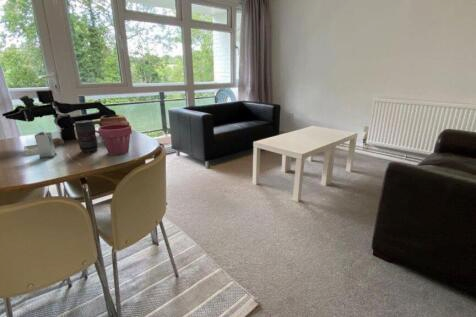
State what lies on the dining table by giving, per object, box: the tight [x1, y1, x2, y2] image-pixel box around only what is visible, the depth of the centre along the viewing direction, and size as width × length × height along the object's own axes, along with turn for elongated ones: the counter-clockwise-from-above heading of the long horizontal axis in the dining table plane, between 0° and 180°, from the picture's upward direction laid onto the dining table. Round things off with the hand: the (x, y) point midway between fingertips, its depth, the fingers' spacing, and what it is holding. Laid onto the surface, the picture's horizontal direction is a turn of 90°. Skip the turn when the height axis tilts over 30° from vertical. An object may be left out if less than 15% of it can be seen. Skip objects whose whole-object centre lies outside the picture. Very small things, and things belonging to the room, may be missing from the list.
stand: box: [23, 144, 39, 156], centre depth 128 cm, size 9×9×3 cm
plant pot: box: [97, 124, 133, 156], centre depth 126 cm, size 14×14×13 cm
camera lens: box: [74, 120, 99, 154], centre depth 127 cm, size 8×8×15 cm
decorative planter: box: [92, 114, 130, 134], centre depth 147 cm, size 20×12×14 cm, turn 128°
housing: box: [34, 131, 58, 160], centre depth 119 cm, size 5×5×12 cm
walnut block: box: [52, 137, 65, 148], centre depth 138 cm, size 5×5×4 cm
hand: (3, 116), depth 127 cm, fingers open, 9 cm apart
